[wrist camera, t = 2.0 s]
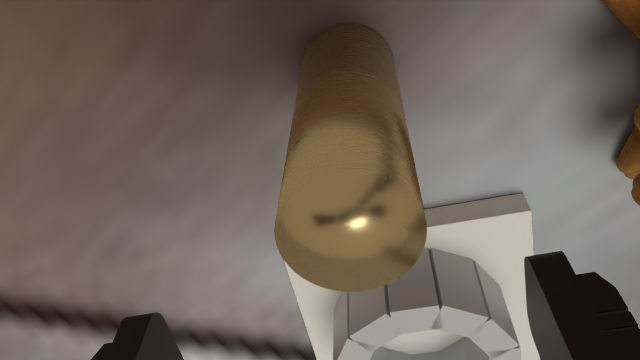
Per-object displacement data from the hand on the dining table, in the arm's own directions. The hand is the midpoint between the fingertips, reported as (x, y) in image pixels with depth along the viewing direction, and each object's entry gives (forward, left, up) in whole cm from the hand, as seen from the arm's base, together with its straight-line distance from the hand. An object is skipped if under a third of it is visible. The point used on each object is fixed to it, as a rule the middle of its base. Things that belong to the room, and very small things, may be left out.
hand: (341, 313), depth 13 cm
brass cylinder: (0, 0, -15) cm, 15 cm away
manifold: (-1, +19, -15) cm, 24 cm away
